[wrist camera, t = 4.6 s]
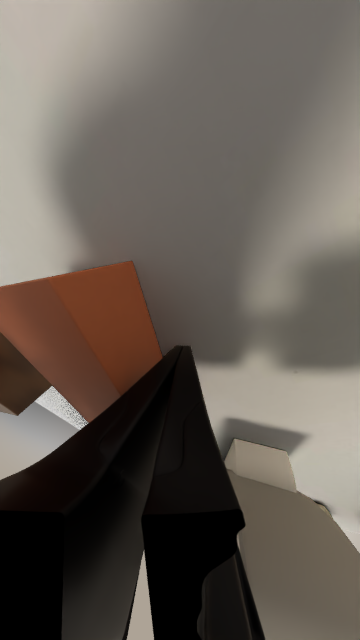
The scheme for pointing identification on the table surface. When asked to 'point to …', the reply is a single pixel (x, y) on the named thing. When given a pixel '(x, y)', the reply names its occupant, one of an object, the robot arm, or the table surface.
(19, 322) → the terracotta bar
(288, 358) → the table surface
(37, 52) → the table surface
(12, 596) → the robot arm
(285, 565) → the alarm clock
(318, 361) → the table surface
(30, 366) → the walnut bar
